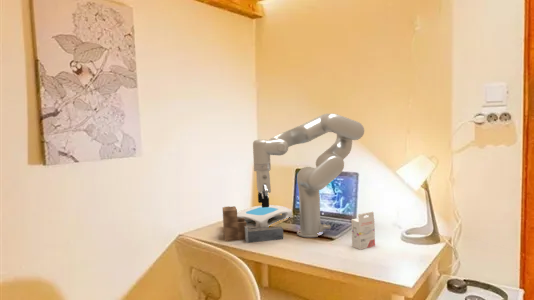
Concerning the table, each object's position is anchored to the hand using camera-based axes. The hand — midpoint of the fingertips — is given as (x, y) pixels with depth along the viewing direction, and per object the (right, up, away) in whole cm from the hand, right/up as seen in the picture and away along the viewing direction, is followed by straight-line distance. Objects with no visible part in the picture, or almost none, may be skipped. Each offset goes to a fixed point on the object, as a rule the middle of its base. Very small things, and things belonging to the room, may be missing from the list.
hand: (263, 204), depth 172 cm
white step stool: (-1, -14, +32) cm, 35 cm away
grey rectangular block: (+1, -16, +1) cm, 16 cm away
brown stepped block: (-15, -16, +13) cm, 25 cm away
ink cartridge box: (+42, -16, -13) cm, 47 cm away
